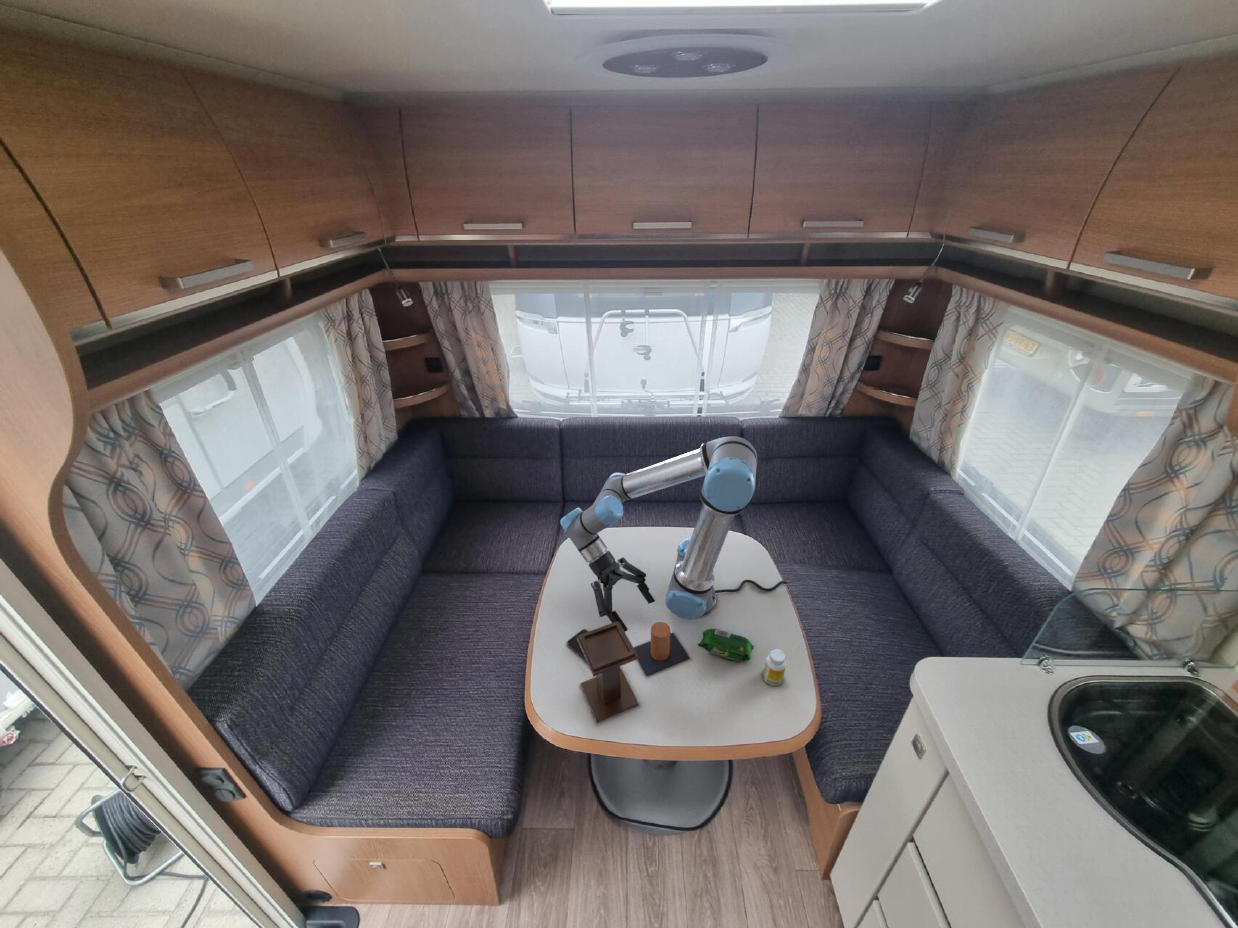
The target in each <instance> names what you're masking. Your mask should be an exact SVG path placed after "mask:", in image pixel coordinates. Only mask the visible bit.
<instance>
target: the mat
mask: <svg viewBox="0 0 1238 928" xmlns="http://www.w3.org/2000/svg"><path fill="white" fill-rule="evenodd" d="M633 648H634V649H635V651H636V653H637V655H638V659H637V661H638V663H639V665H640V666H641V668H642V670H643V672H644V674H645V676H646V677H648V676H651V675H653V674H656V673H658V672H661V671H662V670H663V671H664V670H665V669H668V668H670V667H673V666H675V665H678V664H680V663H683V662H686V661H687V660H690V656H689V654H688V653H687V651H686V650H685V649H684V647H683V645H682V644H681V643H680V641H679V639H678V638H677V636H676V635H675V633H674V632H670V651H669V656H668V658H667V659H665V660H662V661H659V660H656V659H654V658H653V657H652V656H651V653H650V649H651V640H649V641H647V642H645V643H642V644H639V645H636V646H633Z"/></svg>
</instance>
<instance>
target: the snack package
mask: <svg viewBox="0 0 1238 928" xmlns="http://www.w3.org/2000/svg"><path fill="white" fill-rule="evenodd" d="M696 644H697V647H699V648H704V649H705V651H707V652H708V653H711V654H713V655H715V656H719V657H721V658H725V659H728V660H732V661H736V662H743V663H744V662H748V661H750V660H751V657H752V651H754V648H755V646H754V645H753V643H752V642H751V640H750V639H748V638H746V636H742V635H740V634H736V633H732V632H729V631H726V630H722V629H717V628H708V629H706V630H704V631H703V632H702V638H701V640H700V642H696Z"/></svg>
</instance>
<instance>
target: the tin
mask: <svg viewBox="0 0 1238 928" xmlns="http://www.w3.org/2000/svg"><path fill="white" fill-rule="evenodd" d="M671 631H672V629H671V626H670V625H669V624H668V623H667V622H664V621H656V622H653V623H652V625H651V627H650V641H651V649H650V653H651V656H652V657H653V658H654V659H656V660H659V661H662V660H665V659H667V658H668V656H669V651H670V633H671Z"/></svg>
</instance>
